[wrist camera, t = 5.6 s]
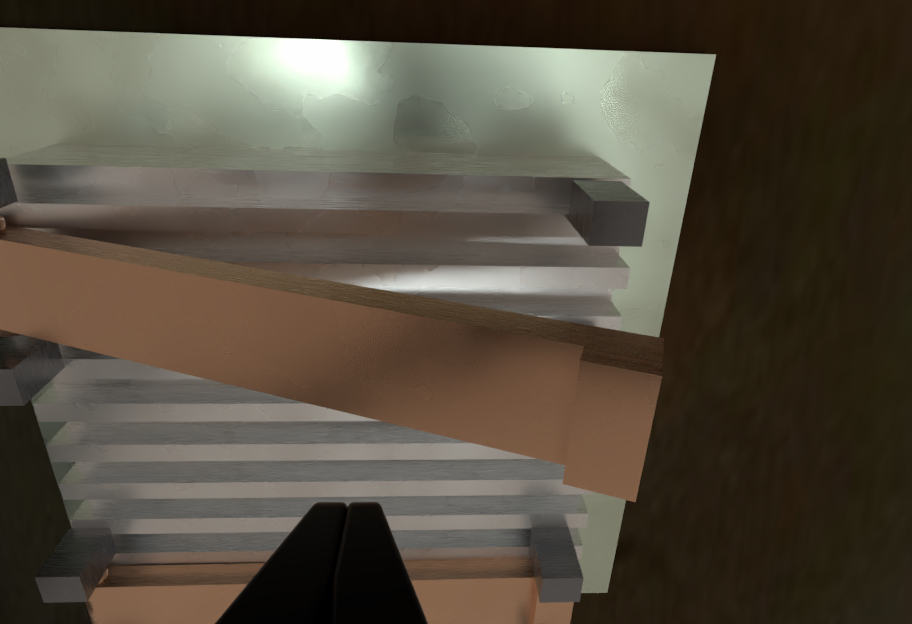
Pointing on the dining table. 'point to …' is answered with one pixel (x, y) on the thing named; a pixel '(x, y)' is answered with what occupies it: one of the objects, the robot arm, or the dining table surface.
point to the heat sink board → (335, 270)
